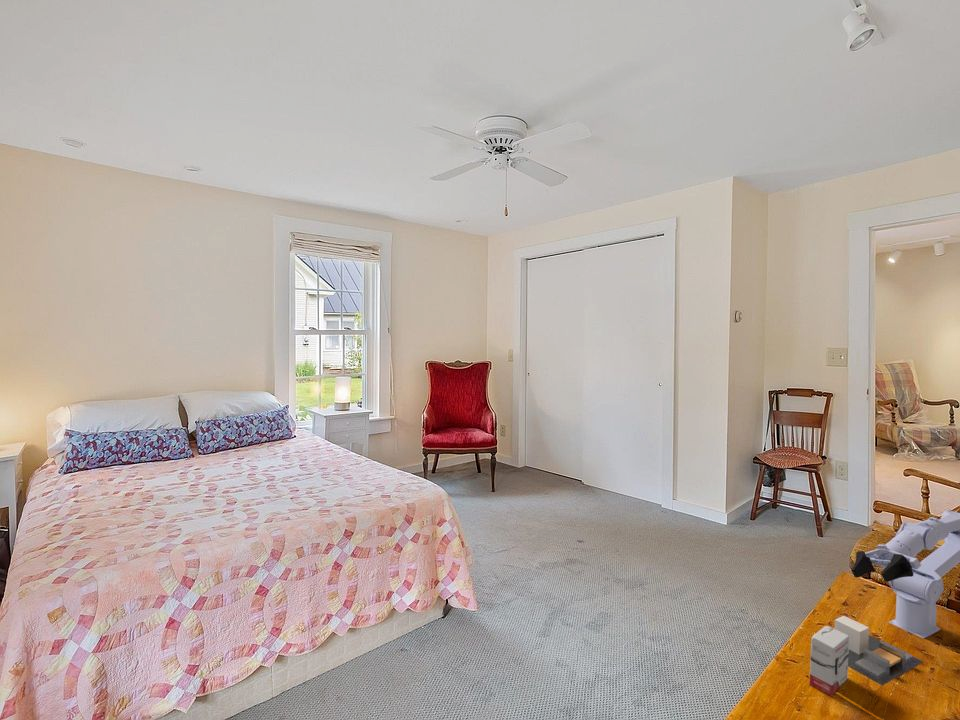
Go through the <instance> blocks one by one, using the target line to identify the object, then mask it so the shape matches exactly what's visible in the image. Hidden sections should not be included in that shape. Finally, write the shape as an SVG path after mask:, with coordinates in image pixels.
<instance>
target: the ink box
mask: <svg viewBox="0 0 960 720" xmlns="http://www.w3.org/2000/svg"><path fill="white" fill-rule="evenodd" d="M810 639H811V641H810V642H811V643H810V661H809V662H810V667H809V682H808V683H809V686H812V687H813V688H816V689H817V690H819V691H821V692H823V693H825V694H827V695H828V696H830V697H832V696H834V695H835V694H836V693H837V692H838V691H837V689H839V687H841V686H842V685H843V684H844V683H845V681H847V680H848V675H849V674H848V671H849V670H848V669H849V667H848V654H849V635H847V634H845V633H842V632H840V631H838V630H836V629H834V627H831V626H829V625H825V626H824V627H822V628H820V629H819V630H818V631H817V632H815V633H814V634H813V635H812V637H811V638H810Z"/></svg>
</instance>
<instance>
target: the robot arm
mask: <svg viewBox="0 0 960 720" xmlns="http://www.w3.org/2000/svg"><path fill="white" fill-rule="evenodd" d="M940 541H943V542H944V543H942V545H940V546H939V547H938V548H937V549H935V547H936V545H937V544H938V543H939V542H940ZM876 547H877V548H876V549H873V550H870V551H860V550H858V551H856V552H855V561H854V564H853V566H852V569H851V573H852V574H853V577H854V578H861V577H862V576H864V575H866V574H868V573H875V572H876V569H875V567H874V566H877V567H880V568H883V570H882V571H881V573H880V575H881V577H882V579H883V581H884V582H887V583H889V586H890V588H892V589H893V593H895V594H896V599H895V602H896V603H895V618H894V619H892V620H890V621H888V623H889V624H891V625H894V626H895V627H897V628H900V629H902V630H904V631H907V632H909V633H910V634H914V635H915V636H918V637H920V638H922V639H926V638H928V637H930V636H932V635H933V634H936V633H937V632H939V631H941V628H940V627H938V626H937V604H936V603H937V602H938V600H939V599H940V597H941V595H942V594H943V593H944V590H945V589H944V581H943V578H942V577H943V576H945V575H946V574H947V573H949V572H950V571H951V570H952V569H954V567H956V566H957V565H958V564H960V512H957V511H953V510H951V509H947V510H944V511H943V512H942V514H941V517H940V518H939V519H938V518H936V517H933V516H930V517H928V518H927V519H925V520H921V521H919V522H915V523H914V522H911V521H910V522H904V521H903V522H902V524H901V525H900V527H899V529H898V530H897V531H896V533H895V535H894V537H893V538H892V539H890V540H889V541H888V542H886V543H885V544H881V543H880V544H877V546H876ZM933 549H935V550H934V551H933ZM922 550H929V551H932V553H930V554H929V555H928V556H926V557H925V558H924V559H923V560H921V561H919V558H917V557H915V556H917V555H918V554H919V553H921V551H922Z"/></svg>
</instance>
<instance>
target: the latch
mask: <svg viewBox="0 0 960 720" xmlns="http://www.w3.org/2000/svg"><path fill="white" fill-rule="evenodd" d="M872 652H874V653H876V654H878V655H879V656H881V657H883V658H885V659H887V660H889V661H890V667H891V666H892V665H894V664H896V663H898V662H900V661H901V658H899V657H897V656H895V655H893V654H891V653H889V652H887V651H885V650H883V649H881V648H878V649H876V650H874V651H872Z"/></svg>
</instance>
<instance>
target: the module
mask: <svg viewBox="0 0 960 720" xmlns="http://www.w3.org/2000/svg"><path fill="white" fill-rule="evenodd" d="M833 625H834V626H833V628H834V629H836V630H838V631H840V632H842V633H845V634H847V635H849V650H851V651H853V652H855V653H857V654H859V655H860V654H862V653H863V650H865V649H868V644H869V635H870V627H868V626H866V624H862V623H860V622H858V621H856V620H854V619H852V618H850V617H848V616H846V615H842V616H839V617H837V618H836V619H834V624H833Z"/></svg>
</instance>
